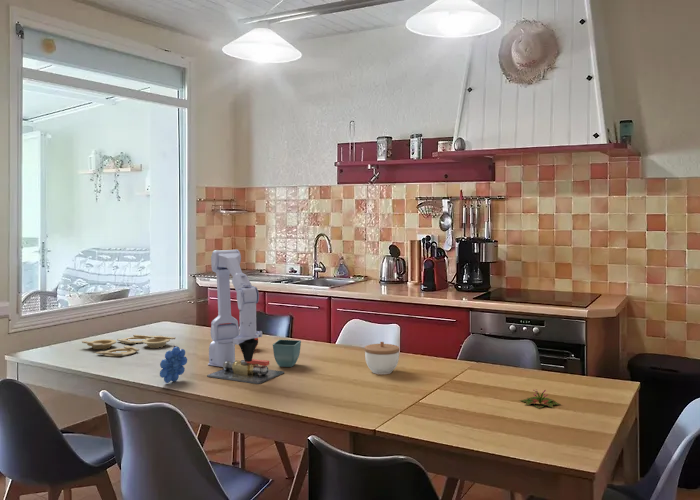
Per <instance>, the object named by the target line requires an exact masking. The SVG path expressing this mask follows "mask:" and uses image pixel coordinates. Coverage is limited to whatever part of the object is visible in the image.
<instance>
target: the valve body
mask: <svg viewBox="0 0 700 500" xmlns="http://www.w3.org/2000/svg"><path fill="white" fill-rule="evenodd" d="M222 368H223V369H220V370H217V371H214V372H211V373H210V374H207V375H206V376H207V378H213V379H220V380H228V381H233V382H234V381H235V382H242V383H249V384H253V385H254V384H255V385H261V384H262V383H263V384H264V383H265V382H267V381H270V380H272V379H274V378H276V377H279V376H281V375H283V374H285V371H282V370H275V369H269V367H268V365H267V366H262V365H258V364H251V363H250V364H247V365H243V364H241V360H235V362H234V363H232V362H230V361H225V362H224V363H223V367H222Z"/></svg>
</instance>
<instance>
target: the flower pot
mask: <svg viewBox="0 0 700 500" xmlns="http://www.w3.org/2000/svg"><path fill="white" fill-rule="evenodd" d="M301 343H302V340H298V339H297V340H295V339H293V340H292V339H278V340H277V341H275V342H274V343H273V344H272V350H273V357H274V360H275V363H276V364H277V365H278V367H283V368H293V367H294V366H295V365H296V363H297V362H298V359H299V358H300V353H301Z"/></svg>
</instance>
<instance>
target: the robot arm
mask: <svg viewBox="0 0 700 500" xmlns="http://www.w3.org/2000/svg"><path fill="white" fill-rule="evenodd" d="M210 258H211V259H210V260H211V261H210V262H211V271H212V272H213V273H215V276H216V289H217V290H216V292H217V293H216V295H217V311H218V312H217V314H218V315H217V316H216V317H215V318H214V319H212V320H211V323H210V325H211V326H210V339H211V340H212V341H211V342H210V343H209V347H208V363H207V365H208V366H215V367H222V368H223V363H224V362H225V361H230V362H232V363H234V362H235V361H236V346H235V345H237V346H239V348H240V350H241V352H242V355H243V360H245V361H247V362H250V361H252V359H254V358H253V357H254V354H255V350H256V348H257V347H256V345H257V344H258V345H259V338H262V337H263V331H262V330H257V304H258V303H259V301H260V300H259V299H260V292H259V290H258V288H257V286H255V285H252V283H251V281H250V278H249V277H248V275H247V274H246V273H243V271H242V268H241V266H240V265H241V261H242V254H241V252H240V250H239V249H226V250H225V249H224V250H223V249H222V250H221V249H215V250H213V251H212V252H211V256H210ZM230 276H231V277H232V279H231V280H230ZM230 282H232V285H233V288H234V289H235V292H236V303H237V308H238V311H239V320H238V319H237V318H235V317H234V316H232V307H231V306H232V305H231V304H232V303H231V283H230ZM255 338H258V340H255ZM258 345H257V346H258ZM255 347H256V348H255Z"/></svg>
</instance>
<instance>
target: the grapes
mask: <svg viewBox="0 0 700 500" xmlns="http://www.w3.org/2000/svg"><path fill="white" fill-rule="evenodd" d="M171 349H172V350H166V352H165V354H164V358H163V359H162V360H161V361H160V363H159V366H160V368H161V370H160V371H159V376H160V378H161V379H163V383H166V384H168V383H171V382H173V383H174V382H177V381H178V380H179V378H180V376H181V375H183V374H184V373H185V371H186V369H185V365H187V363H188V358H187V357H186V356H185V355H186V350H185V349H184V348H180V347H179V346H174V347H173V348H171Z"/></svg>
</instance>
